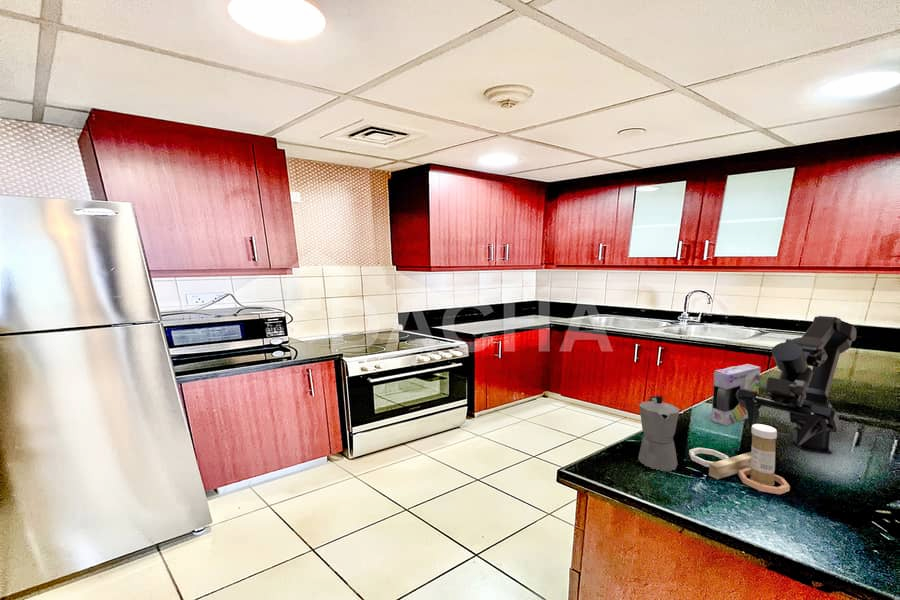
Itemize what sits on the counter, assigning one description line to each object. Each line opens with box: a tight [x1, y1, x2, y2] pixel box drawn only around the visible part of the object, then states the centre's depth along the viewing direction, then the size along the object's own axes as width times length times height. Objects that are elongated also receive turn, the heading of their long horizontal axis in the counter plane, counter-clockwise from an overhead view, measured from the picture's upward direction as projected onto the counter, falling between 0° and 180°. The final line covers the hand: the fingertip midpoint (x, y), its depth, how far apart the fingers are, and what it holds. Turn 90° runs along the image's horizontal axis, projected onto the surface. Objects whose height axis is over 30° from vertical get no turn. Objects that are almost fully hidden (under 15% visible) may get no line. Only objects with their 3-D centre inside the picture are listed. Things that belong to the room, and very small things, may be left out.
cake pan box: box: [711, 363, 761, 426], centre depth 125 cm, size 19×5×18 cm, turn 114°
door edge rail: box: [708, 451, 751, 480], centre depth 94 cm, size 16×2×3 cm, turn 111°
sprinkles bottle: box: [749, 423, 778, 487], centre depth 88 cm, size 5×5×14 cm
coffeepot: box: [637, 395, 681, 472], centre depth 99 cm, size 15×9×18 cm, turn 162°
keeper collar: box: [737, 468, 791, 495], centre depth 89 cm, size 9×9×1 cm
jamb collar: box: [688, 447, 730, 468], centre depth 99 cm, size 9×9×1 cm
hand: (773, 436), depth 90 cm, fingers open, 9 cm apart
